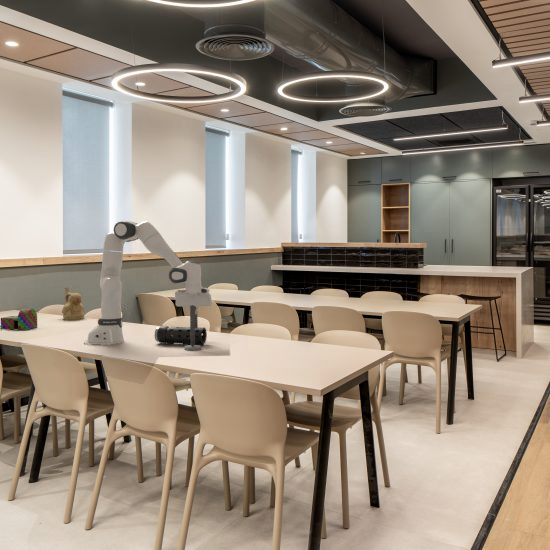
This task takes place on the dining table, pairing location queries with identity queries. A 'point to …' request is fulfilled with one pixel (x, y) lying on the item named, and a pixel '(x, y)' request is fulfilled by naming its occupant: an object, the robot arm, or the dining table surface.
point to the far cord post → (196, 319)
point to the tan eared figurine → (72, 306)
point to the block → (21, 320)
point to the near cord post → (192, 332)
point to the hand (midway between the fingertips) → (193, 314)
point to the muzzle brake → (179, 335)
